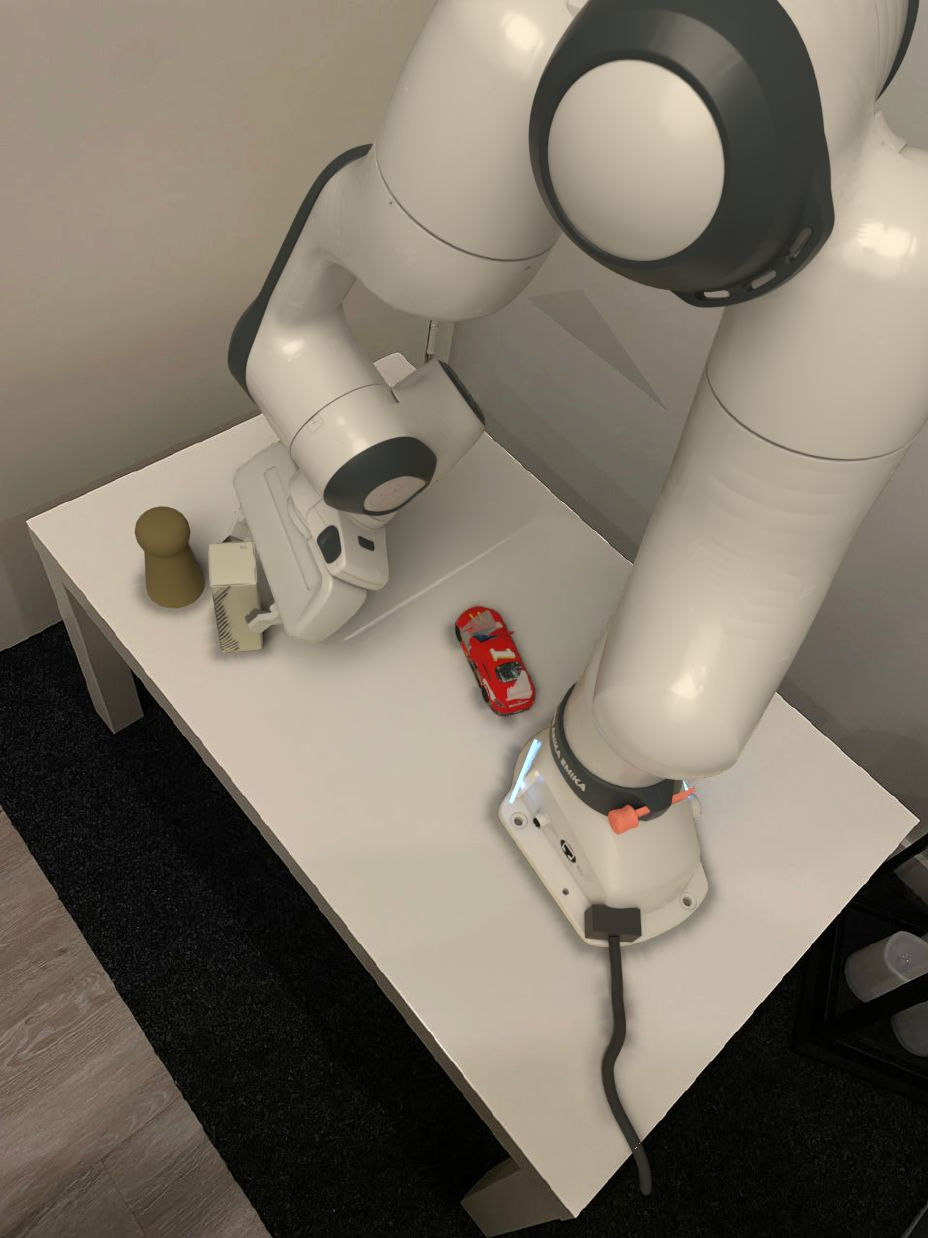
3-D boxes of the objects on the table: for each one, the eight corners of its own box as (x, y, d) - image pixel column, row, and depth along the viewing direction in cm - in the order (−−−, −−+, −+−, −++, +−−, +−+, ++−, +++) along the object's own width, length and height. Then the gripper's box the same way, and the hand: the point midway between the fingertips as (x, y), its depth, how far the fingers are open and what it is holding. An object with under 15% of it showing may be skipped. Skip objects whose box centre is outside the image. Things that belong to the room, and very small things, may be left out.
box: (219, 613, 92) (206, 539, 82) (261, 610, 93) (254, 537, 82) (221, 656, 90) (208, 585, 79) (264, 652, 90) (258, 582, 80)
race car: (447, 620, 96) (452, 600, 93) (492, 609, 98) (499, 589, 94) (490, 724, 90) (496, 706, 86) (537, 711, 91) (545, 693, 88)
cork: (210, 566, 95) (199, 502, 86) (196, 612, 92) (183, 550, 83) (155, 557, 95) (138, 491, 86) (138, 603, 91) (118, 539, 82)
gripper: (279, 408, 82) (186, 497, 87) (349, 580, 73) (241, 668, 78) (324, 433, 87) (234, 515, 92) (395, 596, 78) (291, 677, 83)
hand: (237, 586), depth 85 cm, fingers open, 8 cm apart
